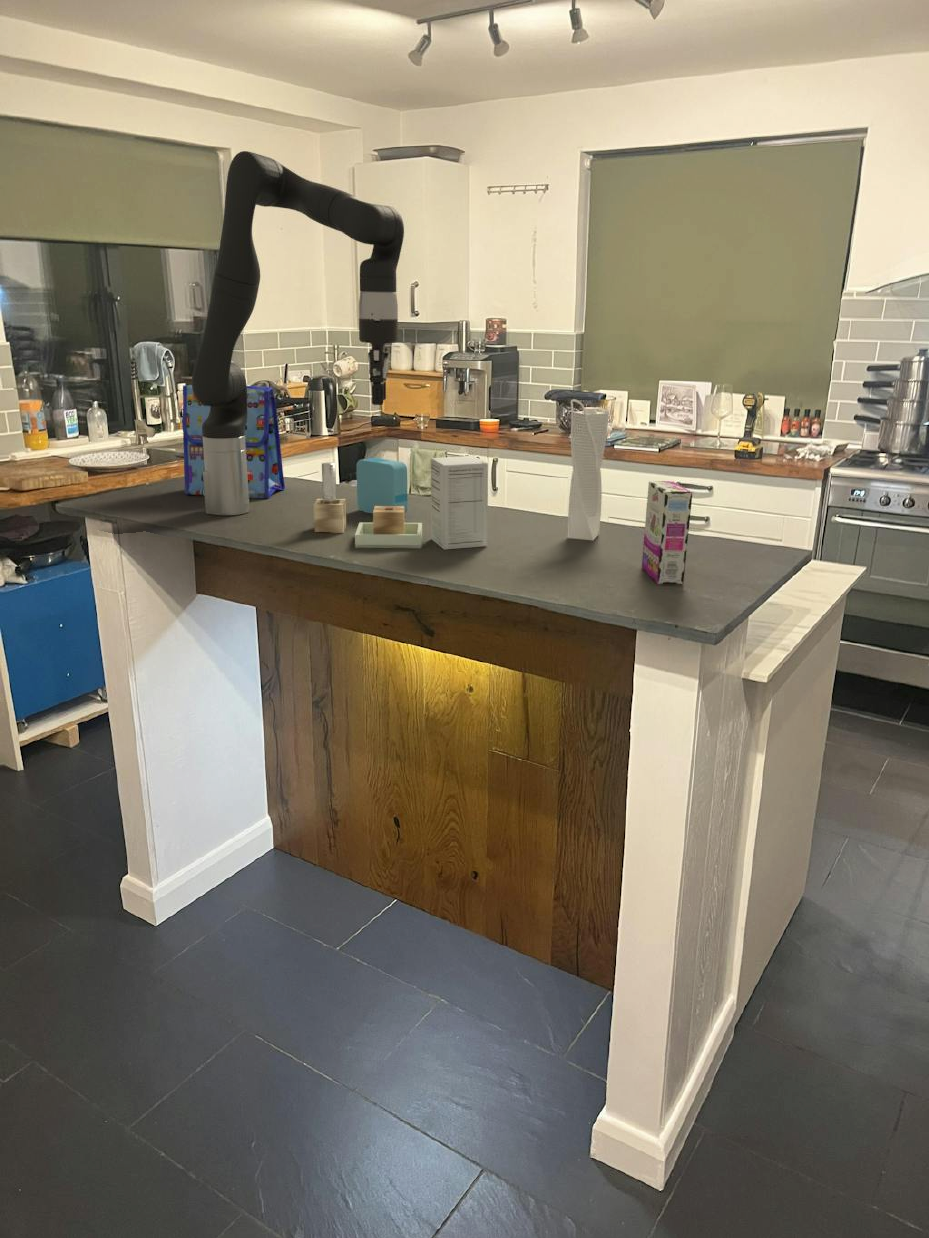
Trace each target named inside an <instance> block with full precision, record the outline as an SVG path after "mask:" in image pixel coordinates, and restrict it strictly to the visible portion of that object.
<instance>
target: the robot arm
mask: <svg viewBox="0 0 929 1238" xmlns="http://www.w3.org/2000/svg"><path fill="white" fill-rule="evenodd" d="M225 184H226V185H225V186H226V187H225V196H224V198H225V199H224V209H223V222H222V229H221V236H220V241H219V248H218V254H217V255H218V256H217V260H216V263H215V264H216V265H215V269H214V274H213V279H212V280H213V281H212V286H211V292H210V299H209V305H208V309H207V315H206V319H205V325H204V331H203V336H202V339H201V343H200V347H199V351H198V353H197V357H196V360H195V364H194V367H193V371H192V376H191V385H192V389H193V393H194V395H195V397H196V398H197V400H198V401H199V402H200V403H202V404H203V405H206V406H210V413H209V416H208V418H207V419H206V420H205V421H204V423H203V424H202V436H203V448H204V461H205V471H204V472H203V481H204V494H205V496H204V504H205V514H206V515H216V516H238V515H242V514H247V513H249V512H250V511H251V508H250V498H249V491H248V475H247V460H246V445H245V426H246V423H247V386H248V385H247V381H246V376H245V373H244V372H243V370H242V368H241V367H240V365H238V364H237V363H235V362H232V358H233V354H234V350H235V347H236V343H237V342H238V339H239V337H240V335H241V333H243V330H244V329H245V327H246V326H247V323H248V322H249V321H250V320H249V319H250V318H251V316H252V314H253V311H254V309H255V306H256V303H257V297H258V293H259V289H260V288H259V287H260V282H261V268H260V267H261V266H260V264H259V263H260V262H259V259H258V255H257V251H256V248H255V244H254V238H253V223H254V222H253V221H254V215H255V210H256V206H260V207H264V208H265V207H267V208H269V207H270V208H271V207H272V208H279V209H281V208H282V209H288V210H292V211H296V212H299V213H301V214H303V215H305V216H306V217H307V218H309V219H311V220H313V221H315V222H316V223H318V224H321V225H323V226H325V227H327V228H330V229H333V230H335V231H338V232H341V233H343V234H344V235H346V236H347V237H349V238H350V239H352V240H354V241H356V242H359V243H362V244H364V245H370V246H371V245H372V251H371V255H370V257H369V258H366V259H364V260H362V261H361V263H360V265H359V299H358V336H359V337H358V339H359V342H360V343H366V344H367V343H368V344H371V349H370V350H369V352H367V360H368V374H369V383H370V385H371V403H372V405H374V406H382V405H383V404H384V401H385V400H386V399H387V382H386V381H387V380H388V373H389V367H390V366H389V362H390V352H389V351H388V347H387V346H386V344H396V343H397V342H398V340H399V327H398V324H399V321H398V317H399V313H398V312H399V309H398V308H399V304H398V299H397V298H398V297H397V268H398V264H399V261H400V257H401V252H402V246H403V243H404V238H405V225H404V220H403V218H402V215H401V214H400V212H399V210H397V208H394V207H393V206H389V205H382V204H375V203H370V202H366V201H362V200H359V199H358V198H357V197H356V196H354V195H353V194H351V193H349V192H347V191H343V190H341V189H339V188H335V187H332V186H330V185H326V184H322V183H318V182H314V181H312V180H309V179H306V178H305V177H303V176H300V175H298V174H297V173H296V172H294V171H292V170H291V169H289V168H287V167H286V166H284V164H282V163H280V162H278V161H277V160H275V159H274V158H271V157H269V156H266V155H261V154H259V153H256V152H252V151H246V150H244V151H243V150H242V151H240V152H238V153H236V155H235V156H234V157H233V158H232V160H231V162H230V165H229V167H228V172H227V177H226V183H225Z"/></svg>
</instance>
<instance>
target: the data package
mask: <svg viewBox="0 0 929 1238" xmlns="http://www.w3.org/2000/svg"><path fill="white" fill-rule="evenodd" d="M355 467H356V499H357V501H356V502H357V503H356V504H357V507H358V509H359V511H361V512H362V511H363V513H367V514H372V515H373V511H374V507H375V506H404V515H405V514H406V513H407V511H408V467H407V465H406V464H405V463H404V462H403V461H398V460H390V459H386V458H385V459H384V458H377V457H368V458H364V459H359V460H358V461H357V462H356V466H355Z"/></svg>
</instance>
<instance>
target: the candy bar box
mask: <svg viewBox="0 0 929 1238" xmlns="http://www.w3.org/2000/svg"><path fill="white" fill-rule="evenodd" d="M647 488H648V490H647V500H646V501H647V502H646V508H645V510H646V511H645V523H644V525H645V526H644V534H643V535H644V537H643V548H642V557H641V558H642V559H641V561H642V562H641V570H643V571H644V573H646V575H647V576H648V577H649V578H651V579H652V580H653V581H654V582H655V583H656V584H657V585H661V586H663V585H664V586H665V585H667V586H668V585H669V586H671V585H672V586H675V585H677V586H678V585H679V584H682V585H684V581H685V571H686V560H687V551H688V541H689V540H688V539H689V534H690V533H689V531H690V521H691V514H692V513H691V512H692V501H693V494H694V493H693V492H692V491H690V489H687V488H685V487H683V486H682V485H681V484H678V483H676V482H675V481H669V480H667V481H665V480H661V481H659V480H658V481H657V480H656V481H655V480H654V481H650V480H649V481H648V486H647ZM679 586H680V585H679Z"/></svg>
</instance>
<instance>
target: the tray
mask: <svg viewBox="0 0 929 1238" xmlns="http://www.w3.org/2000/svg"><path fill="white" fill-rule="evenodd" d="M422 541H423V522H405V534H373V522H359V523H358V526H357V528H356V530H355V534H354V548H355V549H422V543H423V542H422Z"/></svg>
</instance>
